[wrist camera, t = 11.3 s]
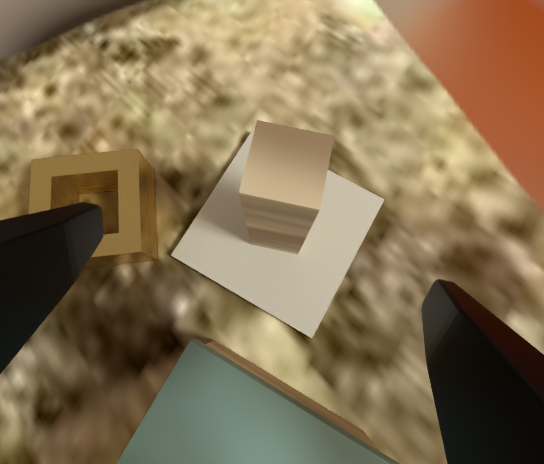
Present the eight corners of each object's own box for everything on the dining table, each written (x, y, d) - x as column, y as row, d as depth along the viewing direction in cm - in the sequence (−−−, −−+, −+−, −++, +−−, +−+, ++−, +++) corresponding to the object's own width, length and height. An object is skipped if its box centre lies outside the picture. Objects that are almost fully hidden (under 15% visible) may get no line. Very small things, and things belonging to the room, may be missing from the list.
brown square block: (297, 254, 22) (319, 209, 12) (251, 244, 22) (238, 192, 13) (307, 209, 22) (334, 135, 13) (261, 200, 22) (257, 120, 13)
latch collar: (158, 260, 22) (141, 251, 19) (58, 271, 22) (26, 264, 19) (154, 169, 23) (138, 148, 20) (61, 179, 23) (31, 159, 20)
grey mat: (311, 338, 21) (311, 338, 20) (172, 256, 22) (170, 255, 22) (382, 201, 23) (384, 199, 23) (252, 133, 24) (252, 130, 24)
